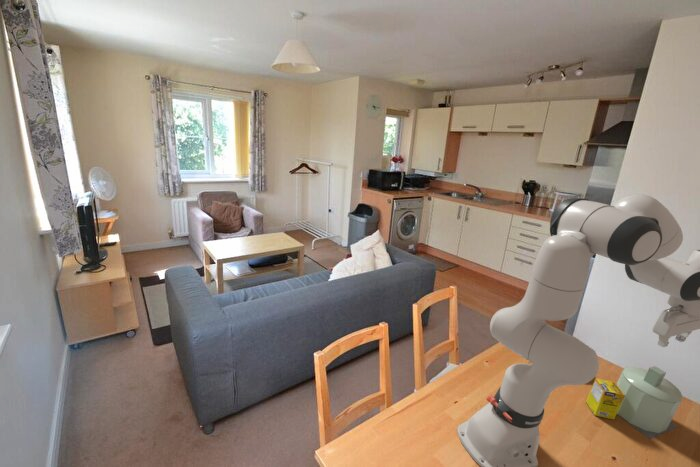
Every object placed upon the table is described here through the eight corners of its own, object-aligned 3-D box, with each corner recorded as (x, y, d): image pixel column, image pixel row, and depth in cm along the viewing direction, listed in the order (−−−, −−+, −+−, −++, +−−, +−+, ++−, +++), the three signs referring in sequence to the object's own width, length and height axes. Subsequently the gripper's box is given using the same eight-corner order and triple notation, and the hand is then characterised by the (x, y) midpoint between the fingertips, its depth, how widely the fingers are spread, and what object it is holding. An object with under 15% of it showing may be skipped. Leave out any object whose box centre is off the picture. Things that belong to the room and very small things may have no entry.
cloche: (649, 437, 98) (672, 392, 92) (601, 401, 110) (619, 359, 104) (675, 425, 103) (699, 382, 97) (626, 392, 115) (645, 351, 109)
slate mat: (649, 440, 97) (650, 439, 97) (598, 401, 110) (599, 400, 110) (677, 427, 103) (677, 426, 102) (625, 392, 116) (626, 391, 116)
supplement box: (614, 421, 103) (626, 395, 99) (593, 417, 104) (604, 391, 100) (604, 406, 108) (615, 381, 105) (584, 402, 109) (595, 377, 106)
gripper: (683, 314, 86) (663, 355, 91) (722, 305, 94) (702, 344, 98) (655, 302, 92) (638, 342, 96) (694, 294, 99) (676, 331, 104)
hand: (670, 343), depth 97 cm, fingers open, 8 cm apart
